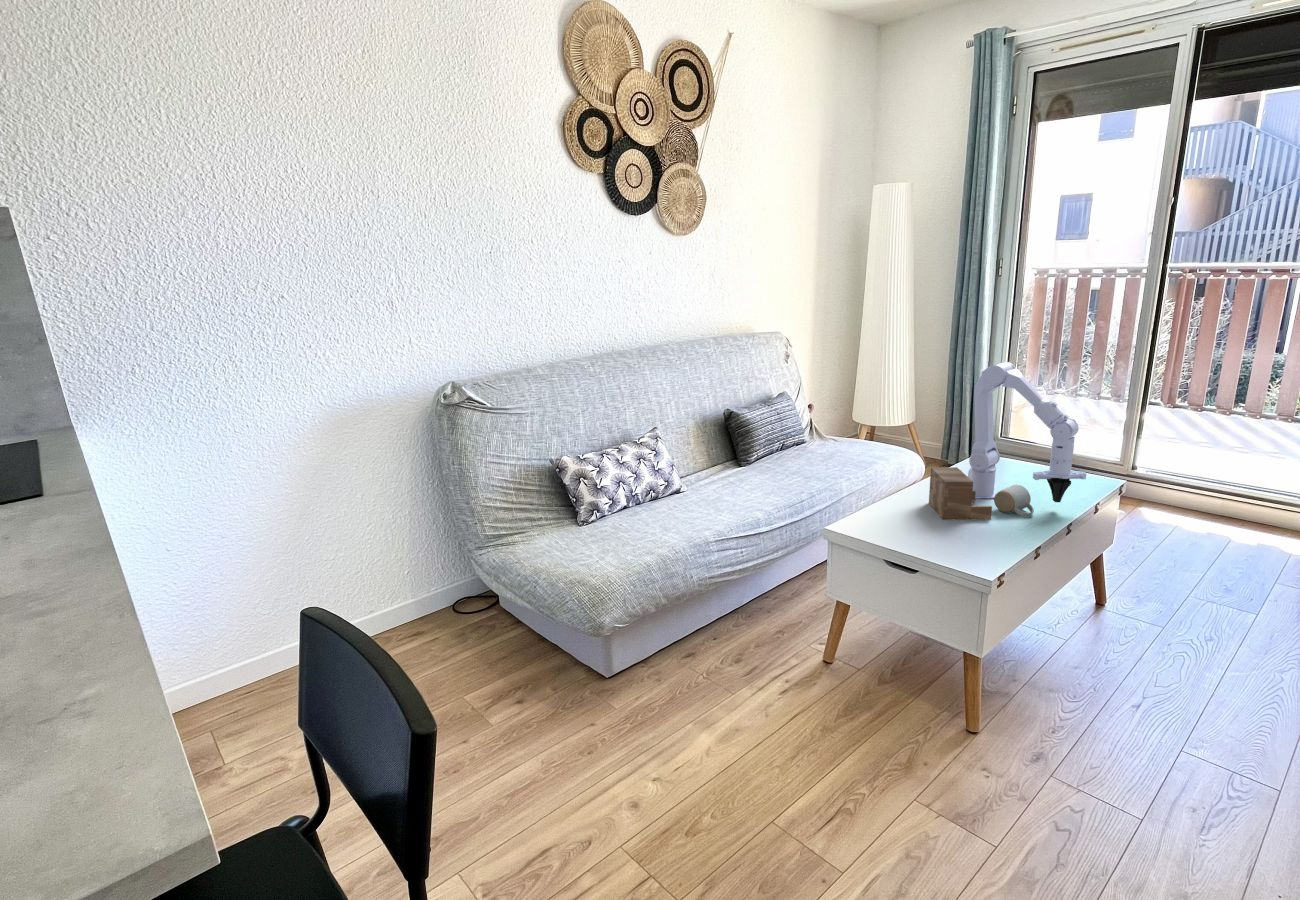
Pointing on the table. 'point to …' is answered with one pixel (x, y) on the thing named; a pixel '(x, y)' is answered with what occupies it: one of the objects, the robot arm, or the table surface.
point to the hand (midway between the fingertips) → (1056, 501)
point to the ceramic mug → (1014, 500)
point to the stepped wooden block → (954, 495)
